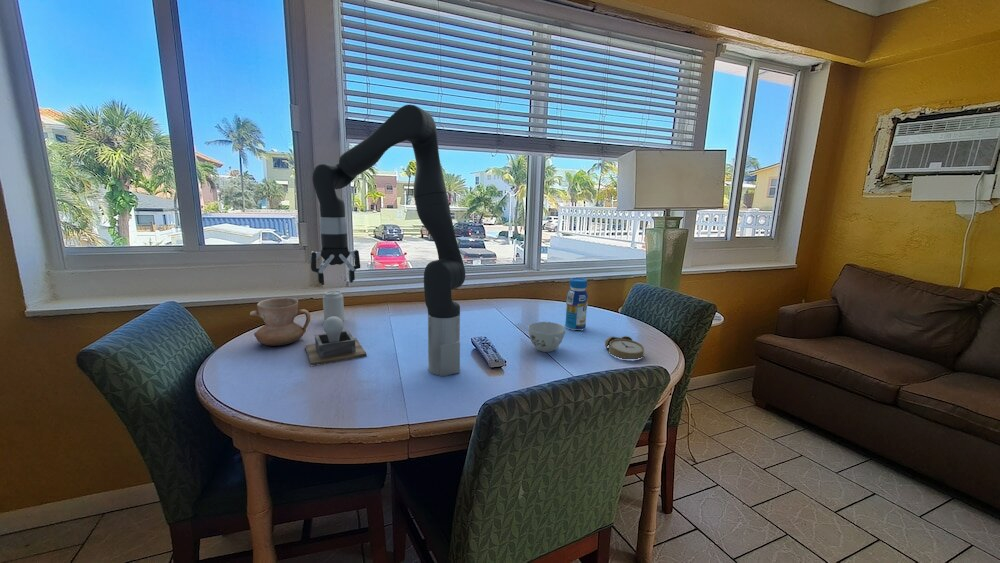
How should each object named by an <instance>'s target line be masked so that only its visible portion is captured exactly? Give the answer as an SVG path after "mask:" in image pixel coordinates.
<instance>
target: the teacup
mask: <svg viewBox="0 0 1000 563" xmlns="http://www.w3.org/2000/svg"><path fill="white" fill-rule="evenodd" d="M527 328H528V336H529V339H530V341H531V343H532V344H533V346H534V347H535V348H536V349H537V350H538V351H540V352H544V353H550V352H554V351H556V350H558V349H559V348H560V344H562V342H563V339H564V338H565V337H564V336H565V334H566V327H565V325H563V324H561V323H556V322H551V321H538V322H534V323H531V324H530V325H528V327H527Z"/></svg>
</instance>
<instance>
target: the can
mask: <svg viewBox="0 0 1000 563" xmlns="http://www.w3.org/2000/svg"><path fill="white" fill-rule="evenodd" d="M323 294H324V295H323V296H322V310H323V319H324V321H325V320H326V319H327V318H329V317H332V316H336V317H339V318H340V319H341V320H342V321H344V320H345V308H344V307H345V306H344V305H345V304H344V295H343V294H342V292H341V291H340V290H329V291H325V292H324V293H323Z"/></svg>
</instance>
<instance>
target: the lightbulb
mask: <svg viewBox="0 0 1000 563" xmlns="http://www.w3.org/2000/svg"><path fill="white" fill-rule="evenodd" d="M343 321H344V320H341V319H340V318H339V317H336V316H332V317H329V318H327V319H326V320H324V322H323V324H322V328H323V331H324V334H327V336H328V339H329V342H330V343H332V342H339V337H340V334H341V332H342V331H344V327H345V326H344V325H345V324H344V322H343Z"/></svg>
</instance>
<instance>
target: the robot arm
mask: <svg viewBox="0 0 1000 563" xmlns="http://www.w3.org/2000/svg"><path fill="white" fill-rule="evenodd" d="M437 130H438V128H437V125H436V121H435V119H434V117H433V116H432V115H431V114H430V113H429V112H428V111H426V110H424V109H422V108H420V107H419V106H417V105H414V104H405V105H403V106H401V107H400V108H398V109H396V111H395V112H394V113H393V114H391V115H390V116H389V117H388V119H387V120H385V121H384V122H383V123H382V124H381V125H380V126H379V127H378V128H376V130H375V131H373V132H372V133H371V134H370V135H368V137H365V139H363V140H362V141H361V142H359V143H357V144H356V145H355V146H353V147H352V148H350V149H348V150H346V151H345V152H344V153H342V154H341V155H340V156H339V158H338V163H337V164H333V165H332V164H327V163H322V164H321V163H320V164H318V165H316V166H315V167H314V169H313V170H312V176H311V180H312V184H313V188H314V190H315V191H314V192H315V194H316V196H317V197H316V198H317V199H318V202H319V212H320V223H319V224H320V225H319V227H320V228H319V231H320V239H321V240H320V242H321V243H320V244H321V250H320V251H314V250H312V251H310V270H311V271H312V272H314V273H317V279H318V280H317V281H318V283H319V284H320V285H321V286H323V285H325V277H324V274H325V273H324V271H325V269H326V268H327V267H328V266H335V265H339V266H340V265H343V264H344V265H345V266H346V267H347V268H348V269H349V270H348V279H349V280H348V281H349V283H350V284H351V283H353V282H354V281H355V280H356V278H355V277H356V276H355V271H356V270H358V269H361V261H360V260H361V259H360V253H359V252H360V250H358V249H356V248H355V249H352V250H349V244H348V227H347V226H348V225H347V219H346V209H345V208H346V207H345V206H346V205H345V202H344V201H345V200H344V199H343V198H341V197H339V196H338V195H337V192H336V190H341V189H343V188H346V187H347V186H348V185H350V184H351V183H352V182H353V181H354V180H355V179H356V178H357V176H360V175H361V174H363V173H364V172H366V171H367V170H369V169H370V168H372V167H374V166H375V165H376V164H377V163H378V162H379V161H380V159H381V158H382V157H383V155H384V154H385V153H386V152H387V151H388V150H389V149H390V148H393V146H395V145H398V144H400V143H402V142H405V141H407V142H410V143H411V146H412V150H413V154H414V158H415V163H416V164H415V166H416V167H415V175H414V182H413V199H414V203H415V207H416V209H415V210H416V212H417V216H418V218H419V220H420V221H421V223H422V225H423V226H424V228H425V229H426V231H427V232H428V234H429V235H430V237H431V238H432V240H433V242H434V244H435V248H436V252H437V258H438V259H435V260H432V261H429V262H428V263H427V265H426V266H425V268H424V271H423V290H424V291H423V292H424V303H425V305H426V308H427V346H428V347H427V348H428V349H427V354H428V356H427V358H428V372H429V373H431V374H433V375H435V376H436V375H437V376H439V377H445V376H450V375H454V374H459V373H460V372H461V341H460V339H461V338H460V337H461V333H460V332H461V307H460V303H458V302H456V301H453V298H452V297H453V296H452V290H456V289H458V288H460V287H462V286H463V284H464V283H465V280H466V268H465V264H464V260H463V258H462V254H461V250H460V248H459V244H458V241H457V236H456V232H455V228H454V227H455V226H454V223H453V218H452V213H451V207H450V202H449V197H448V192H447V188H446V183H445V179H444V178H445V177H444V173H443V168H442V163H441V159H440V153H439V152H440V151H439V141H438V131H437ZM350 255H351V257H353V262H354V265H352V264H351V262H350V261H349V260H348V258H349V256H350ZM320 256H321V258H322V259H323V260H322V262H321V263H320V265H319V266H318V267H317V260H318V259H319V257H320Z"/></svg>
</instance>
